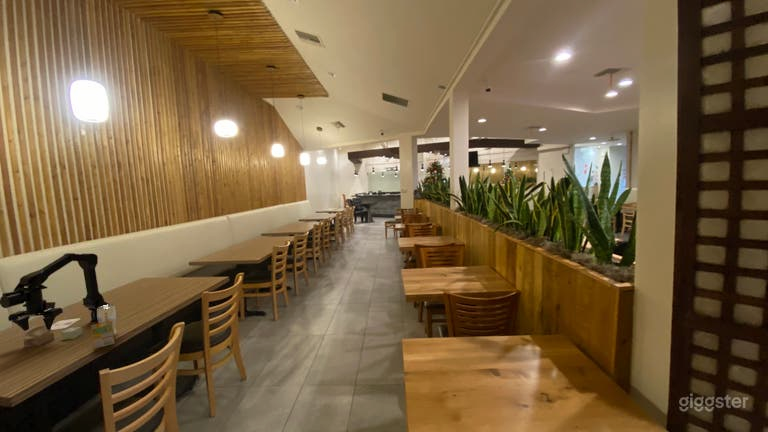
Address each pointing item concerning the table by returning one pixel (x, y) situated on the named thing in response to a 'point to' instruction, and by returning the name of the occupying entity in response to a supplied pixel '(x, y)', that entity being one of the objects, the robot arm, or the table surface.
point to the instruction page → (63, 324)
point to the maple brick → (36, 332)
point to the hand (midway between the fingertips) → (38, 330)
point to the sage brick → (71, 333)
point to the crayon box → (103, 334)
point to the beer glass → (107, 315)
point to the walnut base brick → (39, 340)
